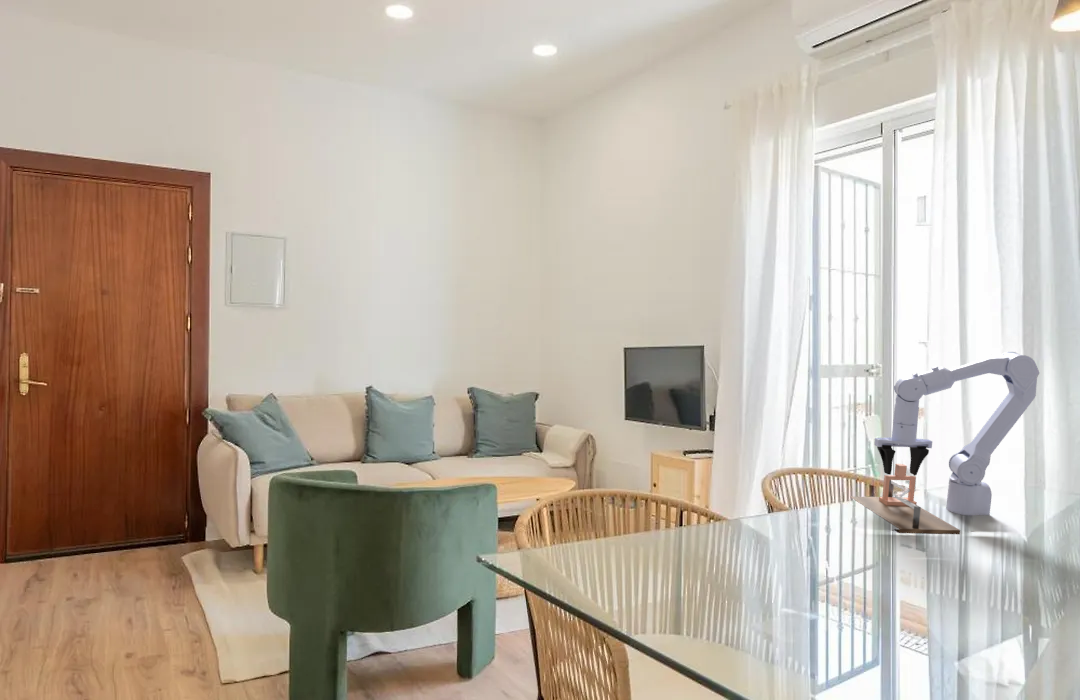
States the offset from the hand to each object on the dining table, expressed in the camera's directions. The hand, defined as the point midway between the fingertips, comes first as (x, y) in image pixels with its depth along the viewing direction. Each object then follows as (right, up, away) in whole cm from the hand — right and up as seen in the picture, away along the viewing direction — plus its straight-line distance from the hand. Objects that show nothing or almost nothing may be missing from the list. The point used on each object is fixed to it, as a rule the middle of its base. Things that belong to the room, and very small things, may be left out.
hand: (900, 473), depth 197 cm
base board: (-3, -10, -7) cm, 12 cm away
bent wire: (-3, -10, -7) cm, 12 cm away
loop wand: (0, -8, +1) cm, 8 cm away
